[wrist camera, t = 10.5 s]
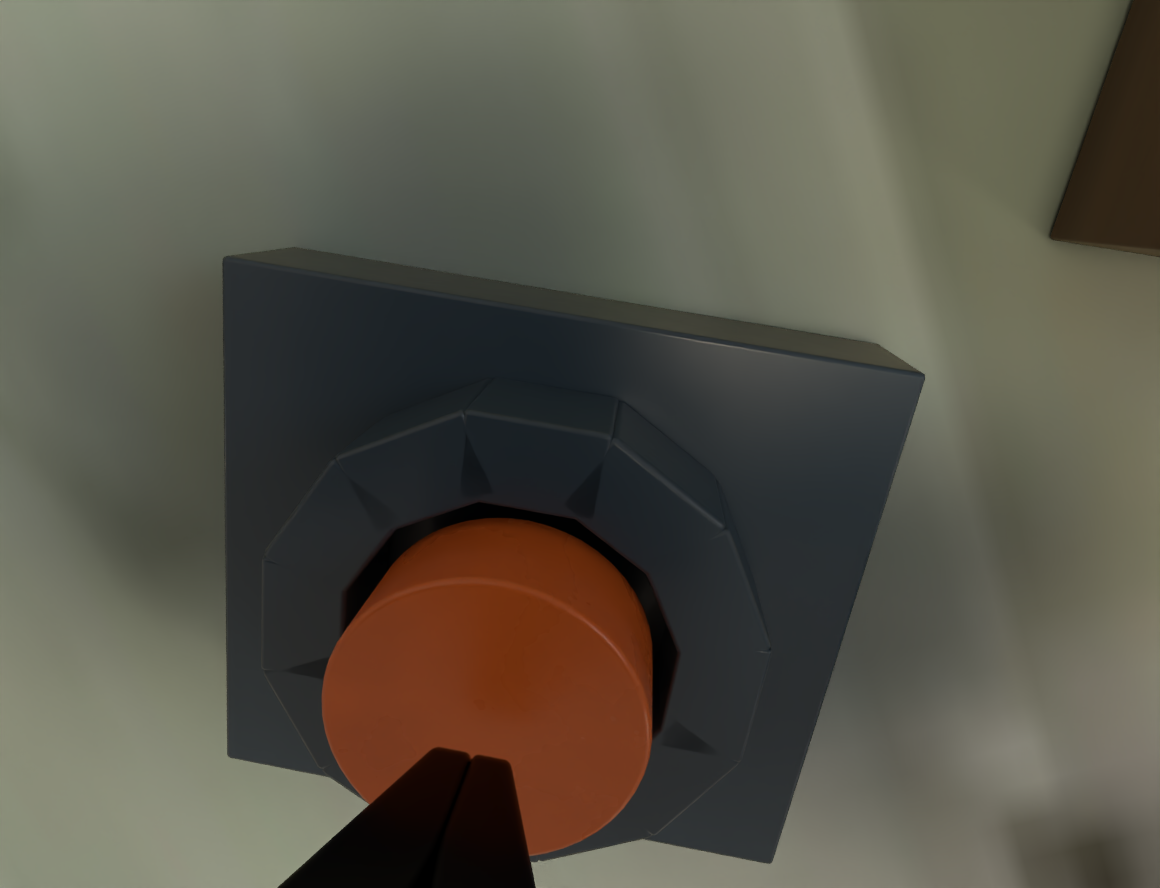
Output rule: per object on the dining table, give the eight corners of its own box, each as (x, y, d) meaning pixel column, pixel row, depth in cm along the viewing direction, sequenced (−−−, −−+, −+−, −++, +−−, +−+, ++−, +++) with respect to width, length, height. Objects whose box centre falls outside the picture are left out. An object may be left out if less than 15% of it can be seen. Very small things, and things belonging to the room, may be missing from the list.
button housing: (881, 344, 12) (985, 410, 8) (756, 773, 15) (790, 968, 11) (292, 245, 12) (134, 265, 9) (283, 683, 15) (162, 840, 12)
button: (677, 544, 10) (682, 617, 8) (625, 783, 11) (621, 888, 9) (379, 491, 10) (324, 550, 8) (364, 732, 11) (313, 826, 9)
